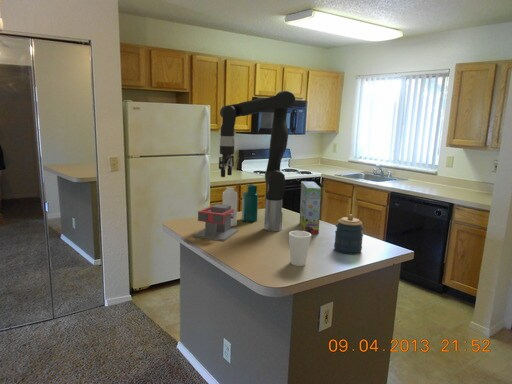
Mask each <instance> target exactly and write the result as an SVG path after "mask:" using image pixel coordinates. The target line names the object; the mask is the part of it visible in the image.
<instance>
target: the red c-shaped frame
mask: <svg viewBox="0 0 512 384" xmlns="http://www.w3.org/2000/svg"><path fill="white" fill-rule="evenodd" d="M212 206H213V205H212ZM212 206H211V205H210V206H208V207H205V208H204V209H201V210H198V211H197V222H202V223H205V222H210V223H217V224H225V216H227V215H229V214H230V213H234V209H230V210H228V211H226V212H224V213H214V212H207V211H209V210H211V207H212ZM231 218H232V219H233V218H234V216H233V217H231Z"/></svg>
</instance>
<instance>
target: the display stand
mask: <svg viewBox="0 0 512 384" xmlns="http://www.w3.org/2000/svg"><path fill="white" fill-rule="evenodd" d="M230 209H231V205H223V204H221V203H216V204H214V205H212V207H211V210H209V211H207V212H214V213H224V212H226V211H228V210H230ZM233 216H234V213H230V214H229V215H227V216H225V224H217V223H210V222H204V223H205V224H204V225H205V226H204V227H205V228H203V229H200V230H199V231H198V232H196V233H194V234H193V237H194V238H202V239H207V240H213V241H221V242H225V241H227V240H228V239H230V238H231V237H232V236H234V235H235V234H237V233H238V232H239V231H240V230H239V229H237V228H232V226H231V217H233Z"/></svg>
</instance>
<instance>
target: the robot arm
mask: <svg viewBox="0 0 512 384" xmlns="http://www.w3.org/2000/svg"><path fill="white" fill-rule="evenodd" d="M295 103H296V96H295V94H294V93H293V92H291V91H289V90H283V91H279V92H277V93H275V95H273V96H268V97H265V98H257V99H252V100H251V99H250V100H247V101H243V102H239V103H234V104H227V105H224V106H222V107H221V108H220V111H219V115H220V116H221V118H222V121H221V122H222V124H221V126H220V138H219V154H220V155H222V156H219V158H218V169H219V170H220V177H221V178H226V170H227V176H232V174H233V173H232V172H233V171H232V170H233V167H235V156H234V155H235V125H236V121H237V120H236V119H237V118H238V117H239V118H240V117H247V116H250V115H255V114H258V113H259V114H260V113H262V112H267V111H270V110H273V119H272V127H271V132H270V133H271V134H270V140H269V150H268V151H269V152H268V161H267V166H266V170H265V174H264V180H265V182H266V184H267V185H268V190H267V193H266V194H265V201H264V202H265V206H264V225H263V226H264V228H263V229H264V230H265V231H268V232H280V231H281V230H282V229H283V212H282V210H283V197H284V195H285V187H286V186H285V185H286V177H285V174H284V173H283V172H282V171H281V163H282V159H283V156H284V154H285V153H286V151H287V146H288V140H289V132H288V131H289V130H288V123H287V117H288V110H289V109H290V108H292V107H293V105H294V104H295Z"/></svg>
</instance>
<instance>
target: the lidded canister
mask: <svg viewBox="0 0 512 384" xmlns="http://www.w3.org/2000/svg"><path fill="white" fill-rule="evenodd" d="M337 222H338V223H336V224H335V227H336V230H335V235H334V244H333V245H334V246H333V247H334V250H335V251H336V252H338V253H340V254H345V255H358V254H361V253H362V250H363V246H362V245H363V238H364V237H363V236H364V234H363V230H364V229H365V227H364V226H363V221H361V220H360V219H359V218H356V217H354V215H353V214H348V215H347V216H345V217H344V216H343V217H341V218H339V219H338V220H337Z"/></svg>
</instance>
